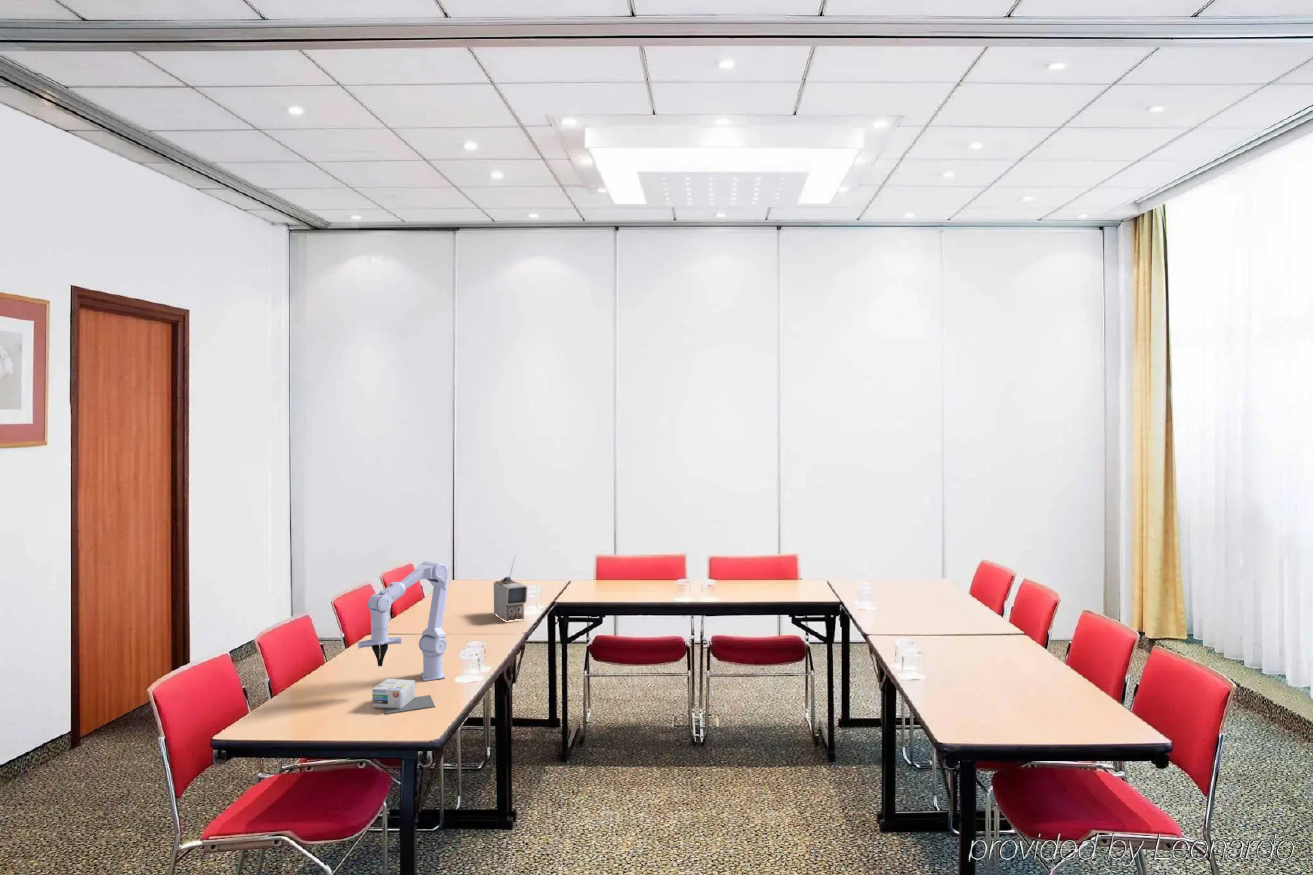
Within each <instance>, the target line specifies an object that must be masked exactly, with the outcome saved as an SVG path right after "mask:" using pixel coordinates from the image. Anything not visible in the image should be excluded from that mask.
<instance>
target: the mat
mask: <svg viewBox="0 0 1313 875" xmlns="http://www.w3.org/2000/svg"><path fill="white" fill-rule="evenodd" d="M434 703H435V702H434V700H433V699H432V696H431V694H428V695H422V696H420V695H419V696H415V698H414V699H412V700H411V701H410V702H409V703H407V704H406V705H405V706H404V707H402V708H401V709H396V708H383V709H384V714H385V715H392V714H397V713H406V712H410V711H413V712H414V711H418V710H425V709H432V708H435V707H436V706H435V705H436V704H434Z"/></svg>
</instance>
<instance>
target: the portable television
mask: <svg viewBox="0 0 1313 875" xmlns="http://www.w3.org/2000/svg"><path fill="white" fill-rule="evenodd" d="M513 557H514V559H513V562H512V566H511V570H510V573H509V576H505V577H504V578H503V579H502V578H501V580H497V581H495V582H493V614H494V613H495V614H497V615H498V616H499V617H500V618H502V619H504V620H506V621H509V620H515V619H524V620H525V604H526V603H527V602H528V586H526V585H524V584H522V583H520V582H518V581H514V580H513V579H512V578H511V575H512V572H513V566H514V563H515V559H516V554H514V556H513Z"/></svg>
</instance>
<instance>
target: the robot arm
mask: <svg viewBox="0 0 1313 875" xmlns="http://www.w3.org/2000/svg"><path fill="white" fill-rule="evenodd" d="M449 569H450V568H448V567H447V566H446V564H445V563H443V562H434V561H433V562H432V561H429V560H425V561H423V562H421V563H420V564H418V565H417V567H416V569H414V570H413V571H412V572H411V573H409V574H408V575H407V576H406V577H404V578H403V579H402V580H401V581H391V582H390V583H389V585H388V586H386V587H385V588H384V589H381V590H380V591H379V593H374V594H372V595H371V596H370V597H369V599H368V602H367V603H366V605H367V608H368V609H369V611H370V612H369V613H370V629H371V631H370V636H371V638H370V639H367V640H362V641H358V642H357V648H358V650H359V649H362V648H370V647H371V649H372V652H373V653H374V656H375V657H376V662H377V666H378V668H379V667H383V663H384V660H385V656H386V654H387V651H388V649H389V645H396V644H398V645H401V644H402V637H401V636H400V637H399V636H397V637H396V636H395V637H389V613H388V611H389V610H390V609H391V606H392V604H393V603H395V601H397V600H398V599H399V598H401V597H402V596H404V595H405V594H406V590H407V589H408V588H410V587H412V586H413V585H414V584H416V583H418V582H420V581H421V580H426V581H429V582H430V584H431V585H432V587H433V589H432V594H431V595H432V596H431V603H430V607H429V608H430V609H429V616H428V621H427V627H426V628H425V629H424V630H423V631H422V634H421V637H420V639H419V641H418V648H419V650H420V651H421V653H422V660H423V661H422V663H423V664H422V665H423V666H422V670H423V671H422V672H420V675H421V678H422V681H424V682H425V681H427V682H428V681H434V680H439V679H440V680H441V679H445V678H446V675H445V674H444V663H443V662H444V660H443V656H444V654H445V653H444V652H445V651H446V649H447V648H448V647H447V634H446V632H445V631H444V629H443V625H444V618H445V612H446V605H447V599H448V598H447V597H448V592H449V585H450V580H449Z"/></svg>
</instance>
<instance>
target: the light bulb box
mask: <svg viewBox="0 0 1313 875" xmlns="http://www.w3.org/2000/svg"><path fill="white" fill-rule="evenodd" d="M415 684H416V680H415V679H400V678H399V679H398V678H387V679H385V680H383V681H381V683H379V684H377V685H376V686H375V687H373V688H372V689H371V690H372V692H371V693H372V695H371V696H372V708H378V709H380V708H382V709H384V708H396V709H401V708H402V707H404V706H405V705H406V704H407V703H409V702H410V701H411V700H412V699H414V698H415V697H416V691H415V690H416V689H415V688H416V685H415Z"/></svg>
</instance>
